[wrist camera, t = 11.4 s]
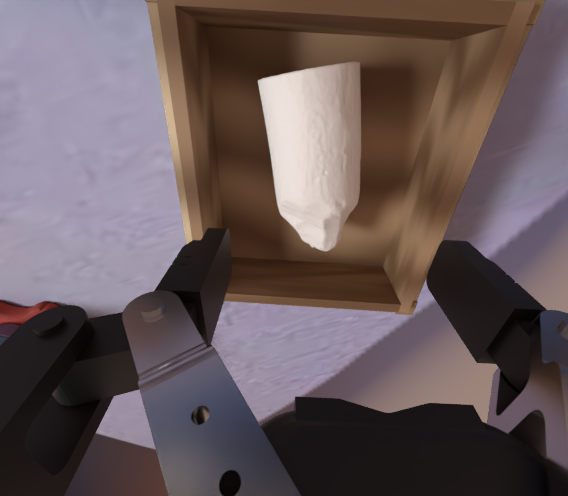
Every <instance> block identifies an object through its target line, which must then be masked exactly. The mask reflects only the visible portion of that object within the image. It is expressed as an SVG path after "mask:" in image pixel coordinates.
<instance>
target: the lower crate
mask: <svg viewBox="0 0 568 496" xmlns="http://www.w3.org/2000/svg"><path fill="white" fill-rule="evenodd" d="M145 1H146V2H147V4H148V10H149V16H150V22H151V28H152V34H153V41H154V47H155V53H156V59H157V65H158V71H159V77H160V84H161V90H162V96H163V102H164V108H165V114H166V120H167V127H168V133H169V139H170V145H171V151H172V157H173V163H174V169H175V176H176V182H177V188H178V194H179V200H180V206H181V212H182V219H183V225H184V231H185V237H186V243H187V244H188V243H189V242H191V241H192V235H191V228H190V221H189V214H188V208H187V201H186V194H185V188H184V181H183V174H182V167H181V161H180V154H179V147H178V140H177V134H176V127H175V120H174V114H173V107H172V100H171V93H170V87H169V80H168V73H167V66H166V60H165V53H164V46H163V40H162V33H161V26H160V19H159V13H158V6H157V0H145ZM496 1H513V2H530V3H535V4H534V7H533V9H532V12H531V14H530V16H529V19H528V21H527V24H526V26H525V29H524V31H523V34H522V36H521V38H520V41H519V43H518V46H517V48H516V51H515V53H514V56H513V58H512V60H511V63H510V65H509V68H508V70H507V73H506V75H505V78H504V80H503V82H502V85H501V87H500V90H499V92H498V95H497V97H496V100H495V102H494V104H493V107H492V109H491V112H490V114H489V117H488V119H487V122H486V124H485V126H484V129H483V131H482V134H481V136H480V139H479V141H478V144H477V146H476V148H475V151H474V153H473V156H472V158H471V161H470V163H469V166H468V168H467V170H466V173H465V175H464V178H463V180H462V183H461V185H460V188H459V190H458V192H457V195H456V197H455V200H454V202H453V205H452V207H451V210H450V212H449V214H448V217H447V219H446V222H445V224H444V227H443V229H442V231H441V234H440V236H439V239H438V241H437V244H436V246H435V249H434V251H433V253H432V256H431V258H430V261H429V263H428V266H427V268H426V271H425V273H424V275H423V278H422V280H421V283H420V285H419V288H418V290H417V293H416V295H415V297H414V300H413V302H412V305H411V307H410V310H409V312H408V313H405V312H395V313H396V314H405V315H413V312H414V310H415V308H416V305H417V303H418V302H417V299H418V297H419V294H420V292H421V289H422V287H423V285H424V282H425V280H426V278H427V273H428V271H429V268H430V266H431V264H432V261H433V259H434V256H435V254H436V252H437V249H438V247H439V245H440V243H441V242H442V239H443V237H444V235H445V232H446V230H447V227H448V225H449V223H450V220H451V218H452V215H453V213H454V211H455V208H456V206H457V203H458V201H459V199H460V196H461V194H462V192H463V189H464V187H465V184H466V182H467V180H468V177H469V175H470V172H471V170H472V168H473V165H474V163H475V160H476V158H477V156H478V153H479V151H480V149H481V146H482V144H483V141H484V139H485V137H486V134H487V132H488V129H489V127H490V125H491V122H492V120H493V117H494V115H495V113H496V110H497V108H498V106H499V103H500V101H501V98H502V96H503V94H504V91H505V89H506V86H507V84H508V82H509V79H510V77H511V74H512V72H513V70H514V67H515V65H516V63H517V60H518V58H519V55H520V53H521V51H522V48H523V46H524V43H525V41H526V39H527V36H528V34H529V31H530V29H531V27H532V25H534V24H536V22H537V19H538V17H539V15H540V12H541V10H542V7H543V5H544V3H545V0H496ZM231 302H236V301H231ZM246 303H251V302H246ZM261 304H267V303H261ZM277 305H282V304H277ZM292 306H297V305H292ZM308 307H313V306H308ZM323 308H328V307H323ZM338 309H344V308H338ZM354 310H359V309H354ZM369 311H374V310H369ZM384 312H390V311H384Z"/></svg>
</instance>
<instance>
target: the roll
mask: <svg viewBox="0 0 568 496" xmlns="http://www.w3.org/2000/svg"><path fill="white" fill-rule="evenodd" d="M258 86H259V91H260V97H261V102H262V107H263V113H264V119H265V125H266V131H267V137H268V143H269V149H270V155H271V163H272V170H273V177H274V187H275V193H276V199H277V205H278V209H279V212H280V214H281V216H282V217H283V218H285V219H286V220H287V221H288V222H289V223H290V224H291V226H293V227H294V229H295V230H296V231H297V232H298V233H299V235H300V237H301V239H302V240H303V241H304V242H306V243H308V244H310V246H311V247H312V248H313V247H315V248H316V249H319V250H322V251H329V250H331V249H333V248H334V247H335V246H336V245H337V243H338V242H339V240H340V239H341V237H342V229H343V225H344V223H345V222H346V220H347V218H348V216H349V214H350V213H351V212H352V211H353V210H354V208H355V206H356V205H357V204H358V199H359V193H360V160H361V95H360V62H359V61H355V62H347V63H339V64H334V65H327V66H321V67H316V68H310V69H304V70H300V71H294V72H289V73H283V74H280V75H275V76H270V77H266V78H262V79H259V80H258Z"/></svg>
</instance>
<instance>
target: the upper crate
mask: <svg viewBox="0 0 568 496" xmlns="http://www.w3.org/2000/svg"><path fill="white" fill-rule="evenodd" d="M534 4H535V3H530V2H513V1H496V0H157V6H158V13H159V19H160V26H161V33H162V40H163V46H164V53H165V60H166V66H167V73H168V80H169V87H170V93H171V100H172V107H173V114H174V120H175V127H176V134H177V140H178V147H179V154H180V161H181V167H182V174H183V181H184V188H185V194H186V201H187V208H188V214H189V221H190V228H191V235H192V240H201V239H202V237H203V235H204V234H205V232H206V230H207V229H208V228H226V229H229V232H230V242H231V256H232V273H231V279H230V282H229V285H228V289H227V292H226V295H225V298H224V301H236V302H251V303H267V304H282V305H297V306H313V307H328V308H344V309H359V310H374V311H390V312H405V313H408V312H409V310H410V307H411V305H412V302H413V300H414V297H415V295H416V293H417V290H418V288H419V285H420V283H421V280H422V278H423V275H424V273H425V271H426V268H427V266H428V263H429V261H430V258H431V256H432V253H433V251H434V249H435V246H436V244H437V241H438V239H439V236H440V234H441V231H442V229H443V227H444V224H445V222H446V219H447V217H448V214H449V212H450V210H451V207H452V205H453V202H454V200H455V197H456V195H457V192H458V190H459V188H460V185H461V183H462V180H463V178H464V175H465V173H466V170H467V168H468V166H469V163H470V161H471V158H472V156H473V153H474V151H475V148H476V146H477V144H478V141H479V139H480V136H481V134H482V131H483V129H484V126H485V124H486V122H487V119H488V117H489V114H490V112H491V109H492V107H493V104H494V102H495V100H496V97H497V95H498V92H499V90H500V87H501V85H502V82H503V80H504V78H505V75H506V73H507V70H508V68H509V65H510V63H511V60H512V58H513V56H514V53H515V51H516V48H517V46H518V43H519V41H520V38H521V36H522V34H523V31H524V29H525V26H526V24H527V21H528V19H529V16H530V14H531V12H532V9H533V7H534ZM355 61H359V62H360V95H361V160H360V193H359V199H358V204H357V205H356V206H355V208H354V210H353V211H352V212H351V213H350V214H349V216H348V218H347V220H346V222H345V223H344V225H343V229H342V237H341V239H340V240H339V242H338V243H337V245H336V246H335V247H334V248H333V249H331V250H329V251H322V250H319V249H316V248H315V247H313V248H312V247H311V246H310V244H308V243H306V242H304V241H303V240H302V239H301V237H300V235H299V233H298V232H297V231H296V230H295V229H294V227H293V226H291V224H290V223H289V222H288V221H287V220H286V219H285V218H283V217H282V216H281V214H280V212H279V209H278V205H277V199H276V193H275V187H274V177H273V170H272V163H271V155H270V149H269V143H268V137H267V131H266V125H265V119H264V113H263V107H262V102H261V97H260V91H259V86H258V80H259V79H262V78H266V77H270V76H275V75H280V74H283V73H289V72H294V71H300V70H304V69H310V68H316V67H321V66H327V65H334V64H339V63H347V62H355Z"/></svg>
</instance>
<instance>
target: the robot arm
mask: <svg viewBox="0 0 568 496" xmlns="http://www.w3.org/2000/svg"><path fill="white" fill-rule="evenodd" d="M231 273H232V256H231V242H230V232H229V229H226V228H208V229H207V230H206V232H205V234H204V235H203V237H202V239H201V240H192V241H191V242H189V243H188V244H187V245H185V246H184V247H183V248H182V249H181V251H180V252H179V254H178V255H177V258H175V260H174V261H173V263H172V265H171V266H170V268H169V269H168V271H167V272H166V274H165V275H164V277H163V278H162V280H161V282H160V283H159V285H158V286H157V288H156V289H155V291H154V292H149V293H146V294H143V295H141V296H139V297H137V298H136V299H134V300H133V301H131V302H130V303H129V304H128V305H127V306H126V308H125V309H124V311H123V312H122V313H117V314H112V315H106V316H101V317H95V318H90V319H89V318H88V316H87V314H86V312H85V311H84V309H82V308H81V307H78V306H73V305H65V306H59V307H55V308H51V309H48V310H45V311H43V312H41V313H39V314H37V315H35V316H33V317H31V318H30V319H28V320H27V321H26V322H24V323H23V324H22V325H21V326H20V327H19V328H18V329H17V330H16V331H15V332H14V333H13V334H12V335H11V336H10V337H9V338H7V339H6V340H5V341H4V342H3V343H2V344H1V345H0V496H64V495H65V493H66V491H67V489H68V487H69V485H70V483H71V481H72V479H73V477H74V475H75V473H76V471H77V469H78V467H79V465H80V463H81V461H82V459H83V457H84V455H85V453H86V451H87V449H88V447H89V445H90V443H91V441H92V439H93V437H94V435H95V433H96V431H97V429H98V427H99V425H100V423H101V421H102V419H103V417H104V415H105V413H106V411H107V409H108V407H109V405H110V403H111V401H112V399H113V397H114V396H116V395H120V394H123V393H127V392H131V391H135V390H139V389H140V393H141V397H142V401H143V404H144V408H145V411H146V415H147V419H148V422H149V426H150V430H151V433H152V437H153V441H154V444H155V448H156V451H157V455H158V459H159V462H160V466H161V469H162V473H163V476H164V481H165V484H166V488H167V491H168V495H169V496H568V313H565V312H561V311H556V310H546V309H545V308H544V307H543V306H542V305H541V304H540V303H539V302H537V301H536V300H535V299H534V298H533V297H532V296H531V295H530V294H529V293H528V292H526V291H525V290H524V289H523V288H522V287H521V286H520V285H519V284H518V283H515V281H514V280H513V279H512V278H511V277H510V276H509V275H506V273H505V272H504V271H503V270H502V269H501V268H500V267H498V265H496V264H495V263H494V262H492V261H490V260H488V259H487V258H485V257H484V256H483V255H482V254H481V253H480V252H479V251H478V250H477V249H475V248H474V247H473V246H472V245H471V244H470V243H469V242H467V241H453V240H444V241H442V242H441V243H440V245H439V247H438V249H437V252H436V254H435V256H434V259H433V261H432V264H431V266H430V268H429V271H428V273H427V286H428V289H429V290H430V292H431V293H432V295H433V297H434V298H435V300H436V301H437V303H438V304H439V306H440V307H441V309H442V310H443V312H444V313H445V315H446V316H447V318H448V319H449V321H450V322H451V324H452V325H453V327H454V328H455V330H456V331H457V333H458V334H459V336H460V338H461V339H462V341H463V342H464V344H465V345H466V347H467V348H468V350H469V351H470V353H471V354H472V356H473V357H474V359H475V360H476V362H477V363H492V364H497V366H498V367H499V368H498V369H497V370H496V371H495V373H494V375H493V380H492V388H491V396H490V404H489V412H488V420H487V424H486V423H484V422H482V421H481V419H480V417H479V416H478V414H477V412H476V410H475V408H474V406H473V405H460V404H439V403H428V404H424V405H420V406H416V407H412V408H409V409H404V410H400V411H397V412H393V413H384V412H381V411H377V410H374V409H371V408H368V407H364V406H361V405H358V404H355V403H351V402H348V401H345V400H342V399H334V398H313V397H295V404H294V411H290V412H286V413H283V414H281V415H278V416H276V417H274V418H272V419H270V420H269V421H267V422H265V423H264V424H262V425H261V426H260V425H259V423H258V421H257V420H256V418H255V416H254V414H253V413H252V411H251V409H250V408H249V406H248V404H247V402H246V401H245V399H244V397H243V396H242V394H241V392H240V390H239V389H238V387H237V385H236V384H235V382H234V380H233V378H232V377H231V375H230V373H229V372H228V370H227V368H226V366H225V365H224V363H223V361H222V360H221V358H220V356H219V354H218V353H217V351H216V350H215V348H214V347H213V346H212V345H210V344H211V341H212V338H213V334H214V331H215V328H216V325H217V321H218V318H219V315H220V312H221V308H222V305H223V302H224V298H225V295H226V292H227V289H228V285H229V282H230V279H231Z"/></svg>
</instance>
